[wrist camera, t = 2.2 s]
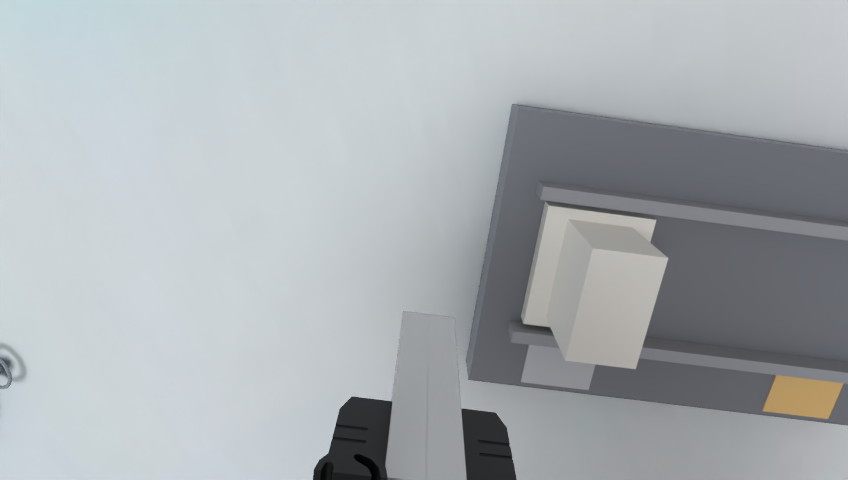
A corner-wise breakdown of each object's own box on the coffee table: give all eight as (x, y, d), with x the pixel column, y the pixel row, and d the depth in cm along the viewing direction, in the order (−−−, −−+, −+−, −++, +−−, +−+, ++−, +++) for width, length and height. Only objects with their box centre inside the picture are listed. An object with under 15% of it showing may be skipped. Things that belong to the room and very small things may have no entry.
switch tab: (618, 328, 28) (655, 382, 23) (520, 316, 28) (539, 367, 23) (649, 215, 26) (697, 249, 21) (545, 201, 26) (570, 232, 21)
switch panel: (846, 405, 32) (891, 443, 29) (466, 359, 31) (470, 393, 28) (953, 165, 27) (1019, 179, 24) (512, 104, 26) (523, 110, 23)
